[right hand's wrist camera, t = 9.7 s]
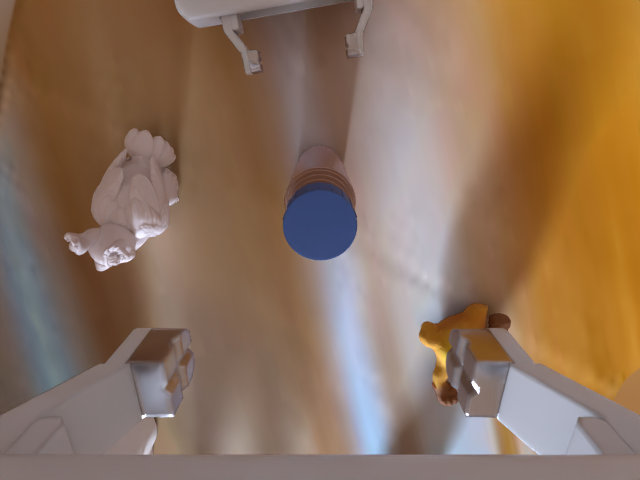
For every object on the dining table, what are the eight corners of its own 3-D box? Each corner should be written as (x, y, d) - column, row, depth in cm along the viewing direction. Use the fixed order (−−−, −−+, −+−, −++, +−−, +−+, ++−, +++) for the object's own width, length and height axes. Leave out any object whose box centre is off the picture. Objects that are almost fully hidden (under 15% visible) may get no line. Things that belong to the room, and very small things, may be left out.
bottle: (298, 191, 42) (279, 265, 22) (295, 145, 40) (272, 182, 20) (342, 190, 42) (363, 263, 22) (342, 144, 40) (364, 179, 20)
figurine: (110, 236, 44) (33, 284, 32) (124, 116, 39) (39, 120, 27) (174, 254, 45) (122, 307, 33) (196, 139, 40) (144, 153, 28)
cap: (288, 248, 24) (285, 262, 22) (283, 182, 22) (279, 190, 20) (353, 246, 24) (357, 260, 22) (354, 180, 22) (358, 187, 20)
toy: (517, 303, 44) (514, 398, 48) (478, 284, 49) (479, 371, 54) (443, 332, 40) (447, 430, 45) (411, 308, 46) (418, 397, 51)
